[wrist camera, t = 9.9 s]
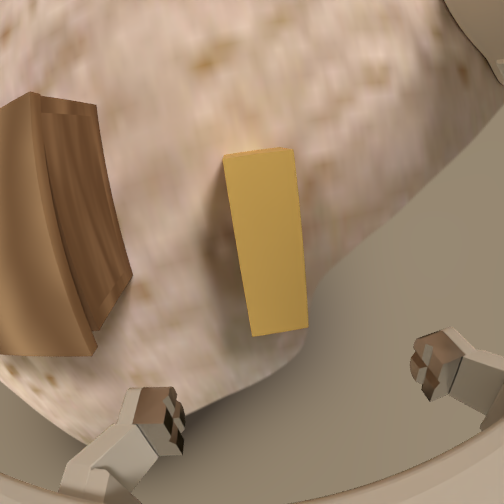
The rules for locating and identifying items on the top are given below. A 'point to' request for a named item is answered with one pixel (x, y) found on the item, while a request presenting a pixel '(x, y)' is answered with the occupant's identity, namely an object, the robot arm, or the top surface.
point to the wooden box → (84, 205)
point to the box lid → (33, 247)
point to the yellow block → (268, 238)
